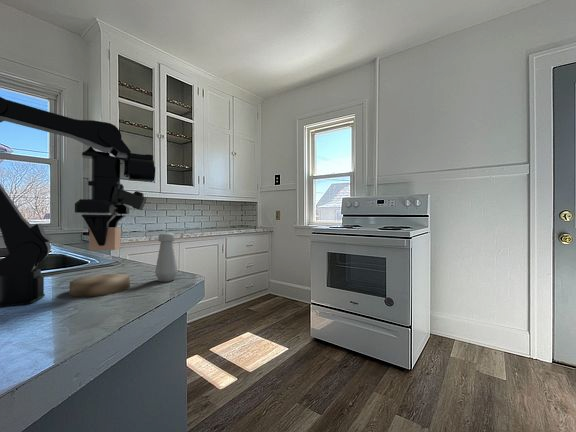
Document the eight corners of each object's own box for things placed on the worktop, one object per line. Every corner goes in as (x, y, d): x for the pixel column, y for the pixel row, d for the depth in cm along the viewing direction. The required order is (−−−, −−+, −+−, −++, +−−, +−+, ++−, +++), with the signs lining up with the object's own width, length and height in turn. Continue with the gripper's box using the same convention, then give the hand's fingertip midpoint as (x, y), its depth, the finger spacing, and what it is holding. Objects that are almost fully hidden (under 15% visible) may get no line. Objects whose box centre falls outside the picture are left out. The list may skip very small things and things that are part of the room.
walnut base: (59, 298, 60) (59, 286, 60) (80, 285, 71) (80, 275, 71) (123, 293, 64) (123, 282, 64) (134, 282, 75) (134, 272, 75)
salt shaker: (172, 282, 75) (172, 233, 75) (151, 282, 75) (151, 233, 75) (181, 277, 81) (181, 232, 81) (161, 277, 81) (161, 232, 81)
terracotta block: (89, 250, 63) (89, 228, 63) (97, 248, 68) (97, 227, 68) (114, 249, 65) (114, 228, 65) (120, 247, 70) (120, 227, 70)
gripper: (135, 174, 60) (135, 247, 60) (150, 184, 78) (149, 240, 78) (73, 171, 57) (73, 249, 57) (103, 182, 75) (103, 241, 74)
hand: (105, 244), depth 66 cm, fingers closed on terracotta block, 5 cm apart
